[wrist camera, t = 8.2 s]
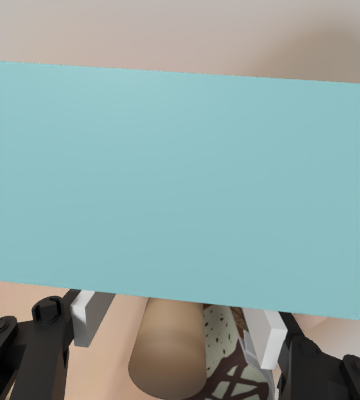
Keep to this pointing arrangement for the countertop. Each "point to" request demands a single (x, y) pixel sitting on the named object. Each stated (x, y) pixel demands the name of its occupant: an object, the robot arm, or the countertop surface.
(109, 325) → the countertop surface
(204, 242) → the socket
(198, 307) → the peg
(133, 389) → the countertop surface
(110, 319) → the countertop surface
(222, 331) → the food container
